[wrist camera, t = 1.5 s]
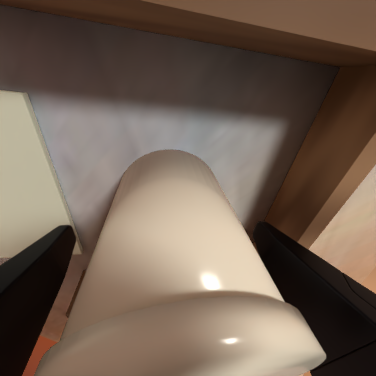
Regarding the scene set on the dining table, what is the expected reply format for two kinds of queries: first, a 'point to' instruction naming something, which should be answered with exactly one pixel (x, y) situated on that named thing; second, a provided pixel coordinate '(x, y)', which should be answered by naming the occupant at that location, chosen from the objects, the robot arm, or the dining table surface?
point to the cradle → (287, 47)
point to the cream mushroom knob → (178, 288)
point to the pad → (27, 180)
